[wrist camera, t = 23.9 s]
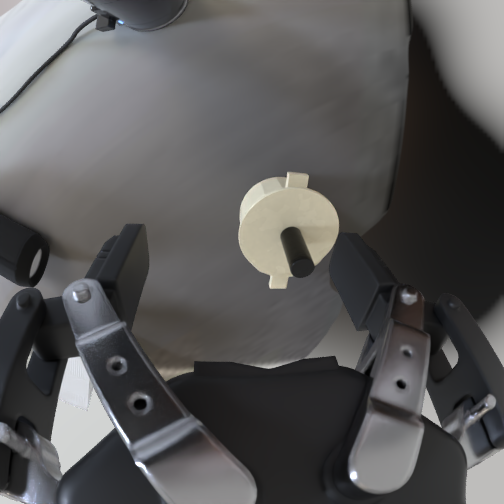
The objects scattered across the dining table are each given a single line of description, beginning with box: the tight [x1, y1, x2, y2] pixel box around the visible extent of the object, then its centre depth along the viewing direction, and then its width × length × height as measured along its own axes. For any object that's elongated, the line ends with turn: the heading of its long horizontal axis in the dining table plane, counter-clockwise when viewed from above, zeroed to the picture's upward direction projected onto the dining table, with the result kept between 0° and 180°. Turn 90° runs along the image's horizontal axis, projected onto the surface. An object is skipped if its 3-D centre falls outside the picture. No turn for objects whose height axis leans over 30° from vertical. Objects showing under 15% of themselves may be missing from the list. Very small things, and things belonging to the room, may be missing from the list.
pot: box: [240, 172, 322, 289], centre depth 38 cm, size 11×17×8 cm
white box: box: [58, 357, 93, 411], centre depth 51 cm, size 32×11×11 cm, turn 150°
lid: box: [239, 187, 339, 278], centre depth 31 cm, size 12×12×7 cm
